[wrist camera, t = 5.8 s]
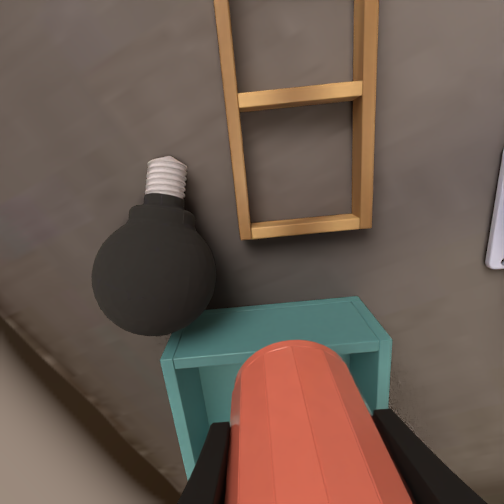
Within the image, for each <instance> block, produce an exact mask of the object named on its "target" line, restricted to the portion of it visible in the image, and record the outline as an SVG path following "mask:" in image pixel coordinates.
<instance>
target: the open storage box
mask: <svg viewBox="0 0 504 504" xmlns="http://www.w3.org/2000/svg"><path fill="white" fill-rule="evenodd" d="M286 340H307V341H312V342H316V343H319V344H322V345H324V346H326V347H328V348H330V349H331V350H333V351H335V352H336V353H337V354H338V355H339V356H340V357H341V358H342V359H343V360H344V361H345V362H346V364H347V366H348V367H349V369H350V371H351V373H352V375H353V377H354V379H355V380H356V382H357V384H358V386H359V388H360V390H361V392H362V394H363V396H364V398H365V400H366V402H367V404H368V406H369V408H370V410H371V412H372V414H373V410H376V409H388V401H389V385H390V369H391V353H392V339H391V337H390V336H389V335H388V334H387V332H386V331H385V330H384V329H383V327H382V326H381V325H380V324H379V322H378V321H377V320H376V319H375V317H374V316H373V315H372V314H371V312H370V311H369V310H368V309H367V307H366V306H365V305H364V304H363V302H362V301H361V300H360V298H359V297H358V296H353V297H342V298H331V299H320V300H310V301H299V302H288V303H277V304H266V305H255V306H244V307H233V308H223V309H212V310H204V311H203V313H202V314H201V315H200V316H199V317H198V318H197V319H196V320H195V321H193V322H192V323H191V324H190V325H188V326H187V327H185V328H183V329H181V330H179V331H176V332H173V333H172V334H171V336H170V339H169V341H168V343H167V345H166V348H165V350H164V352H163V355H162V357H161V359H160V363H161V367H162V371H163V376H164V380H165V384H166V388H167V393H168V397H169V401H170V406H171V410H172V414H173V419H174V423H175V427H176V432H177V436H178V440H179V445H180V449H181V453H182V458H183V462H184V466H185V471H186V475H187V479H188V480H189V478H190V476H191V474H192V471H193V469H194V467H195V465H196V462H197V460H198V458H199V455H200V453H201V450H202V448H203V445H204V443H205V440H206V437H207V434H208V431H209V428H210V425H211V424H212V423H215V422H228V421H229V424H230V414H231V399H232V392H233V389H234V382H235V378H236V376H237V373H238V371H239V370H240V368H241V367H242V365H243V364H244V363H245V361H246V360H247V359H248V358H249V357H250V356H252V355H253V354H254V353H255V352H257V351H258V350H260V349H262V348H264V347H266V346H268V345H271V344H273V343H277V342H280V341H286Z"/></svg>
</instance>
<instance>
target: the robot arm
mask: <svg viewBox="0 0 504 504" xmlns="http://www.w3.org/2000/svg"><path fill="white" fill-rule="evenodd" d="M502 259H504V149H503V155H502V161H501V167H500V173H499V180H498V186H497V192H496V198H495V204H494V210H493V217H492V223H491V229H490V235H489V241H488V247H487V254H486V260H485V264H486V266H487V267H489V268H491V269H504V260H503V262H502V263H501V261H502ZM373 417H374V419H375V421H376V423H377V425H378V427H379V429H380V431H381V433H382V435H383V437H384V439H385V441H386V443H387V445H388V447H389V449H390V451H391V453H392V455H393V457H394V459H395V461H396V463H397V466H398V468H399V470H400V472H401V474H402V476H403V478H404V480H405V482H406V484H407V486H408V488H409V490H410V492H411V494H412V496H413V498H414V500H415V502H416V504H487V503H486V502H485V501H484V500H483V499H482V498H481V497H479V496H478V495H477V494H476V493H475V492H474V491H473V490H472V489H471V488H470V487H468V486H467V485H466V484H465V483H464V482H463V481H462V480H461V479H460V478H459V477H458V476H457V475H455V474H454V473H453V472H452V471H451V470H450V469H449V468H448V467H447V466H446V465H445V464H444V463H443V462H442V461H441V460H440V459H439V458H438V457H437V456H436V455H435V454H434V453H433V452H432V451H431V450H430V449H429V448H428V447H427V446H426V445H425V444H424V443H423V442H422V441H421V440H420V439H419V438H418V437H417V436H416V435H415V434H414V433H413V432H412V431H411V430H410V429H409V428H408V427H407V425H406V424H405V423H404V422H403V421H402V420H401V419H400V418H399V417H398V416H397V415H396V414H395V413H394V412H393V411H392V410H391V409H390V408H389V409H376V410H373ZM229 435H230V424H229V421H228V422H215V423H212V424H211V425H210V428H209V431H208V434H207V437H206V440H205V443H204V445H203V448H202V450H201V453H200V455H199V458H198V460H197V462H196V465H195V467H194V469H193V471H192V474H191V476H190V478H189V480H188V482H187V485H186V487H185V489H184V491H183V493H182V495H181V497H180V499H179V501H178V503H177V504H224V503H225V488H226V473H227V461H228V451H229Z"/></svg>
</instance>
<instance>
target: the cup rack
mask: <svg viewBox="0 0 504 504" xmlns="http://www.w3.org/2000/svg"><path fill="white" fill-rule="evenodd" d="M214 9H215V18H216V27H217V36H218V45H219V54H220V63H221V72H222V80H223V89H224V98H225V107H226V116H227V125H228V134H229V143H230V152H231V161H232V170H233V179H234V188H235V197H236V206H237V215H238V223H239V232H240V239H241V240H250V239H260V238H271V237H281V236H292V235H302V234H313V233H323V232H333V231H344V230H354V229H366V228H372V199H373V168H374V137H375V106H376V75H377V45H378V14H379V0H354V50H353V81H352V82H342V83H333V84H323V85H313V86H304V87H294V88H285V89H275V90H265V91H256V92H246V93H238V89H237V79H236V69H235V59H234V48H233V38H232V28H231V18H230V8H229V0H214ZM346 101H353V144H352V214H351V213H350V214H340V215H330V216H319V217H309V218H299V219H288V220H278V221H268V222H257V223H251V221H250V211H249V201H248V190H247V180H246V170H245V160H244V150H243V140H242V130H241V119H240V112H249V111H259V110H269V109H278V108H288V107H298V106H308V105H317V104H327V103H337V102H346Z"/></svg>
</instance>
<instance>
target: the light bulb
mask: <svg viewBox="0 0 504 504" xmlns="http://www.w3.org/2000/svg"><path fill="white" fill-rule="evenodd" d="M148 167H149V168H148V169H147V172H148V174H147V178H148V179H147V180H146V183H147V185H146V187H145V188H146V191H145V194H146V195H145V197H144V204H143V205H136V206H134V207H132V208H131V209H130V211H129V220H128V222H127V223H126V224H125V225H124V226H122V227H121V228H119V229H118V230H116V231H115V232H114V233H113V234H112V235H110V236H109V237H108V239H107V240H106V241H105V242H104V243H103V245H102V246H101V248H100V250H99V251H98V253H97V256H96V258H95V260H94V265H93V270H92V287H93V292H94V296H95V298H96V300H97V302H98V305H99V307H100V309H101V310H102V311H103V313H104V314H105V315H106V316H107V318H109V319H110V320H111V321H112V322H113V323H115V324H116V325H117V326H119V327H120V328H122V329H124V330H126V331H128V332H131V333H134V334H138V335H144V336H161V335H167V334H170V333H173V332H176V331H179V330H181V329H183V328H185V327H187V326H188V325H190V324H191V323H192V322H193V321H195V320H196V319H197V318H198V317H199V316H200V315H201V314H202V313H203V311H204V310H205V309H206V307H207V306H208V304H209V302H210V300H211V298H212V295H213V293H214V290H215V284H216V266H215V262H214V258H213V255H212V253H211V250H210V248H209V247H208V245H207V244H206V242H205V241H204V239H203V238H202V237H201V236H200V235H199V234H198V233H197V232H196V230H195V216H194V215H193V214H192V213H190V212H189V211H186V210H184V201H185V200H184V199H183V197H185V194H184V193H183V192H185V188H184V186H186V183H185V182H184V181H186V180H187V179H186V177H185V176H186V175H187V172H186V170H187V166H186V165H184V164H183V163H181V162H179V161H178V160H176V159H175V158H173V157H171V156H166V157H162V158H158V159H153V160H151V161H149V162H148Z"/></svg>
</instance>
